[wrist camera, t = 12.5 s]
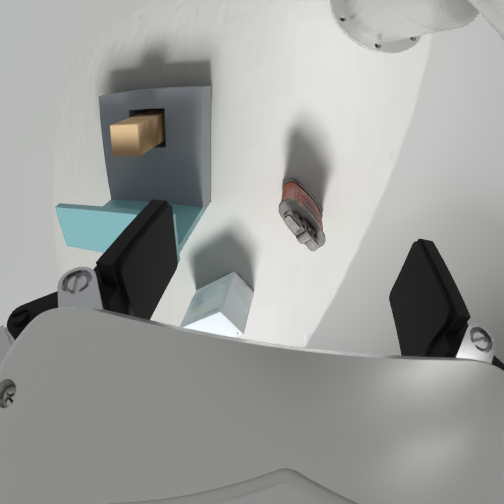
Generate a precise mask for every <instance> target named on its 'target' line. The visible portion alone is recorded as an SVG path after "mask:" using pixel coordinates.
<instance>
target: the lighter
mask: <svg viewBox="0 0 504 504" xmlns="http://www.w3.org/2000/svg"><path fill="white" fill-rule="evenodd" d="M282 192H283V193H282V200H281V203H280V205H279V214H280V215H281V217H282V219H283V220H284V222H285V224H286V225H287V226H288V228H289V229H290V230H291V231H292V233H293V234H294V235H295V236H296V238H297V240H298V241H299V242H300V243H301V244H305V245H306V246H307V248H308V249H309V250H310V251H312V252H313V251H316V250H317V249H318V248H320V247H321V246H323V245H324V243H325V234H324V232H323V226H322V216H323V215H322V210H321V208H320V206H319V204H318V202H317V201H316V200H315V198H314V197H313V195H312V194H311V193H310V192H309V191H308V190H307V189H306V187H305V186H303V185H302V184H301V183H300V182H299V181H297V180H296V179H293V178H291V179H287V180H285V181H284V183H283V185H282Z"/></svg>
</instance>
